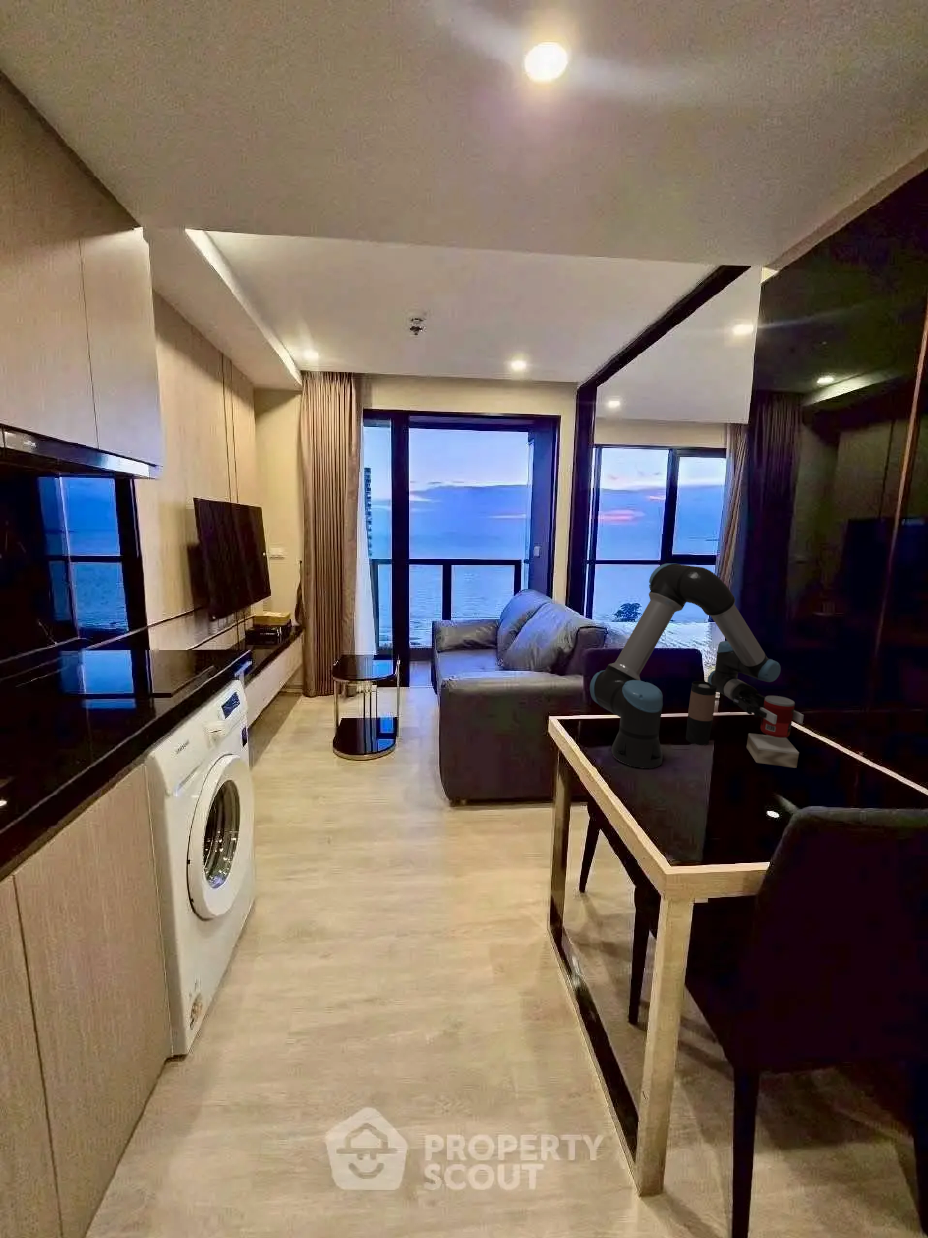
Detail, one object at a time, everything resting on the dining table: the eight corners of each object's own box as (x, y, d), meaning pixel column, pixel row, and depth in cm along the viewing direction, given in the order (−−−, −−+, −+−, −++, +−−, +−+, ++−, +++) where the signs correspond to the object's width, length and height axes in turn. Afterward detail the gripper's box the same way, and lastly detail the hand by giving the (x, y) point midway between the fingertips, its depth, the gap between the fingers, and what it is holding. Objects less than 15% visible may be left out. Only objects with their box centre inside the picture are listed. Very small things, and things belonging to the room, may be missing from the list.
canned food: (793, 739, 153) (799, 705, 151) (765, 736, 154) (770, 703, 152) (783, 729, 160) (788, 696, 158) (756, 726, 162) (761, 694, 160)
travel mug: (685, 743, 168) (692, 686, 164) (684, 734, 175) (691, 679, 171) (710, 747, 165) (718, 689, 161) (708, 738, 172) (716, 682, 168)
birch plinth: (756, 762, 155) (758, 747, 154) (746, 747, 166) (748, 733, 165) (796, 767, 152) (799, 752, 151) (783, 751, 163) (786, 737, 162)
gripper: (767, 702, 175) (818, 730, 153) (711, 703, 173) (754, 732, 151) (770, 682, 174) (822, 707, 152) (714, 683, 172) (758, 708, 150)
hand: (788, 719), depth 151 cm, fingers closed on canned food, 8 cm apart
